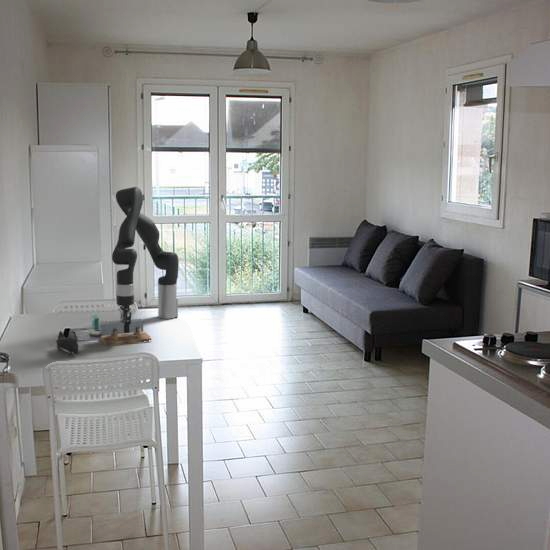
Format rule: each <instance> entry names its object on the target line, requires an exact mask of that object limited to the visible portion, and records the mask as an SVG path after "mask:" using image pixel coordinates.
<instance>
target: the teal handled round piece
mask: <svg viewBox="0 0 550 550" xmlns="http://www.w3.org/2000/svg"><path fill="white" fill-rule="evenodd" d="M99 320H100V317H98V315H97V314H92V315H91V324H92V325H91V328H89V329H90V330H89V334H90V335H94V336H100V335H102V334H101V332H100V321H99Z"/></svg>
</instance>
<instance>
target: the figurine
mask: <svg viewBox="0 0 550 550" xmlns="http://www.w3.org/2000/svg"><path fill="white" fill-rule="evenodd" d="M79 348H80V346H79V344H78V340H77V338H76V339H75V338H73V337H66V336H65V335H64V334H63V332H62V331H61V330H60V331H59V332H58V335H57V340H56V349H57V350H62V351H65V352H66V353H68V354H69V353H70V354H71V353H72V354H73V355H74V357H75V358H76V357H77V356H78V354H79Z"/></svg>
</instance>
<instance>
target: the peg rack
mask: <svg viewBox="0 0 550 550" xmlns="http://www.w3.org/2000/svg"><path fill="white" fill-rule="evenodd" d="M100 340H101V341H102V343H103V344H104V346H105V347H106V346H107V347H108V346H118V345H119V346H120V345H130V344H138V343H139V342H144V341H149V340H151V341H152V338H151V336H150V335H149V334H148V333H147V332H146V331H145V332H144V331H143V332H141V329H137V332H135V333H123V334H118V331H117V330H115V331H114V334H110V335H106V336H101V339H100ZM144 343H145V342H144ZM139 344H140V343H139Z"/></svg>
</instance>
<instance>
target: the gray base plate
mask: <svg viewBox="0 0 550 550" xmlns="http://www.w3.org/2000/svg"><path fill="white" fill-rule="evenodd" d="M101 336H102V335H100V336H94V335H90V334H87V335H86V336H84V337H83V338H81V339H78V340H77V342H81V341H82V342H84V341H83V340H85V341H95V340H101ZM103 336H106V335H103Z"/></svg>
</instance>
